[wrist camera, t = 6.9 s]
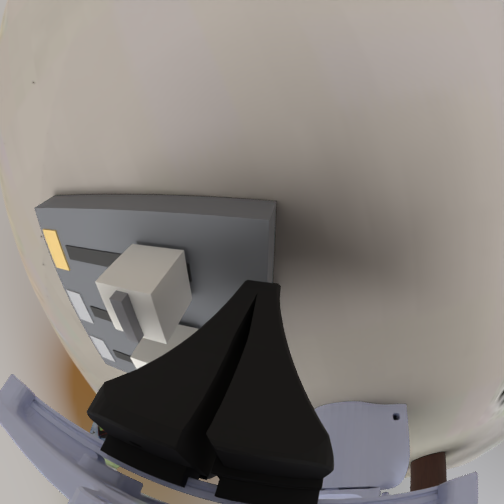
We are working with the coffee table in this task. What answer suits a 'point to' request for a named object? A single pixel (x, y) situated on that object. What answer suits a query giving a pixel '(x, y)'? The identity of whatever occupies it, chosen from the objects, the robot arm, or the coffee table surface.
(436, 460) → the lamp
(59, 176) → the coffee table surface
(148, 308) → the switch
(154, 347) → the switch
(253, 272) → the switch unit
